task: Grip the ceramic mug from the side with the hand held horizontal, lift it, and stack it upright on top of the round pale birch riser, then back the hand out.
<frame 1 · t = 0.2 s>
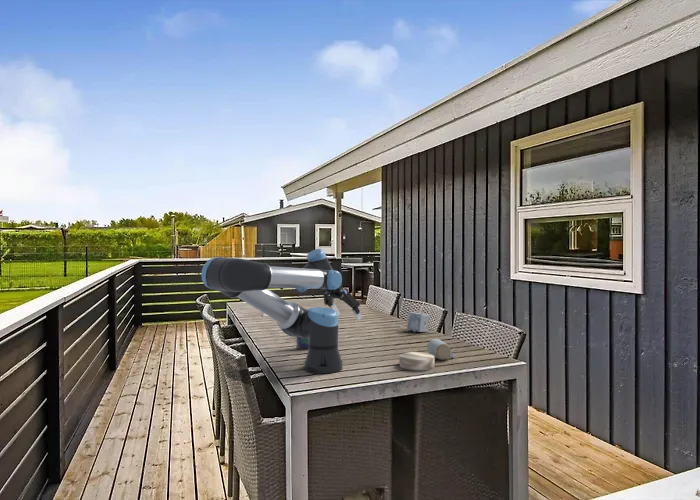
hand: (348, 317, 215), 15 cm above the table, tool tilted 35°, fingers open, 13 cm apart
incense holder: (418, 332, 257), on the table
ceramic mug: (441, 358, 201), on the table
flask: (306, 348, 219), on the table
birch riser: (416, 366, 189), on the table
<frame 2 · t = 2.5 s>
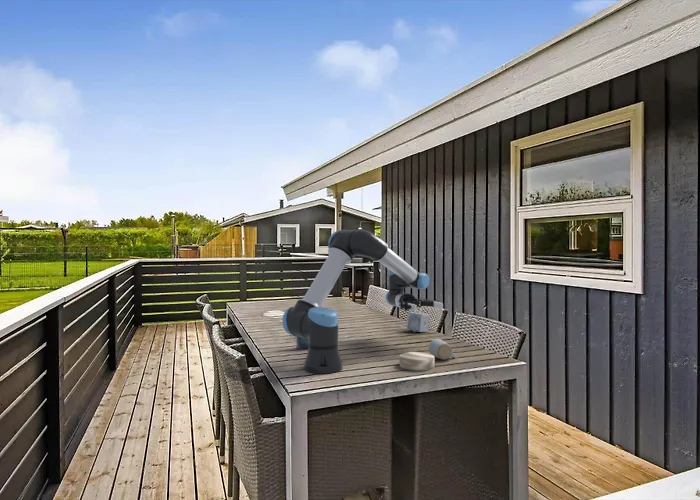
hand: (429, 307, 209), 20 cm above the table, tool horizontal, fingers open, 13 cm apart
nothing on the table moved.
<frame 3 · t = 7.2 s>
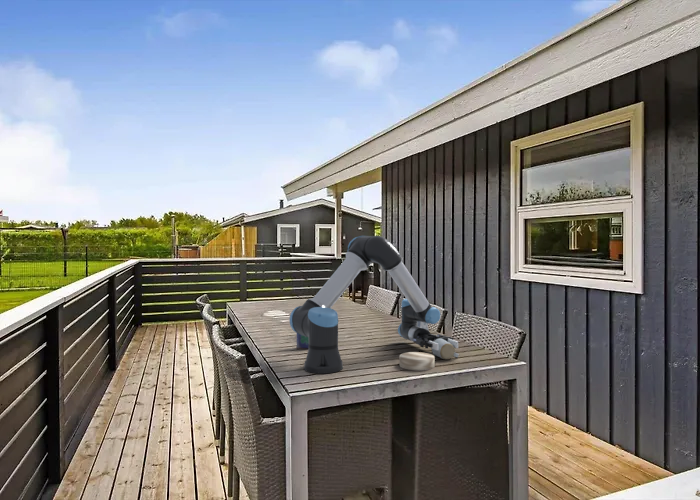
hand: (447, 346, 197), 6 cm above the table, tool horizontal, fingers open, 9 cm apart
ceramic mug: (445, 358, 201), on the table, touching gripper
everything else where it was.
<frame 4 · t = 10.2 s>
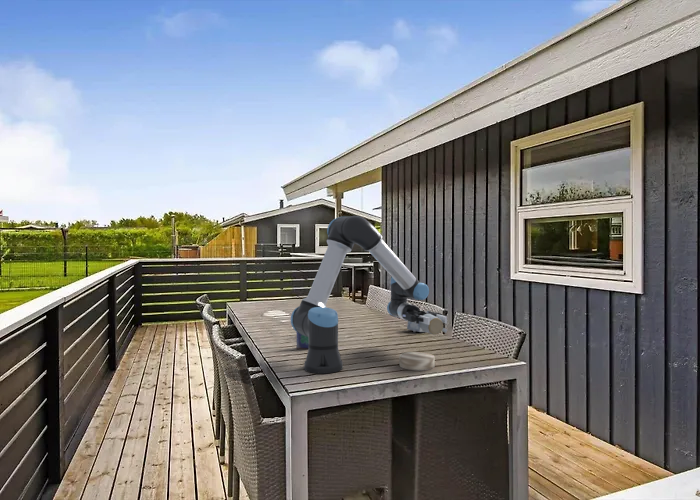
hand: (437, 320, 190), 18 cm above the table, tool horizontal, fingers closed on ceramic mug, 7 cm apart
ceramic mug: (434, 333, 195), point 12 cm above the table, touching gripper
everything else where it was.
when the fingers open (11 cm above the table, at t = 13.2 s): ceramic mug drops 2 cm, resting on birch riser.
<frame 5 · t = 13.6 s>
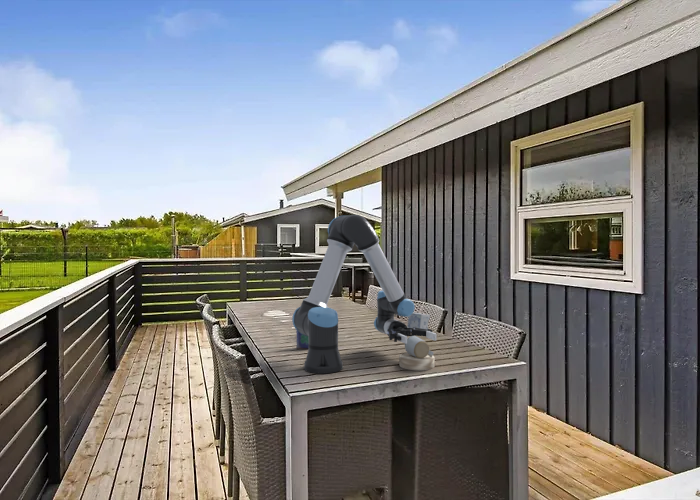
hand: (421, 338, 186), 11 cm above the table, tool horizontal, fingers open, 13 cm apart
ceramic mug: (420, 356, 189), point 3 cm above the table, touching birch riser
birch riser: (416, 366, 189), on the table, touching ceramic mug
everything else where it was.
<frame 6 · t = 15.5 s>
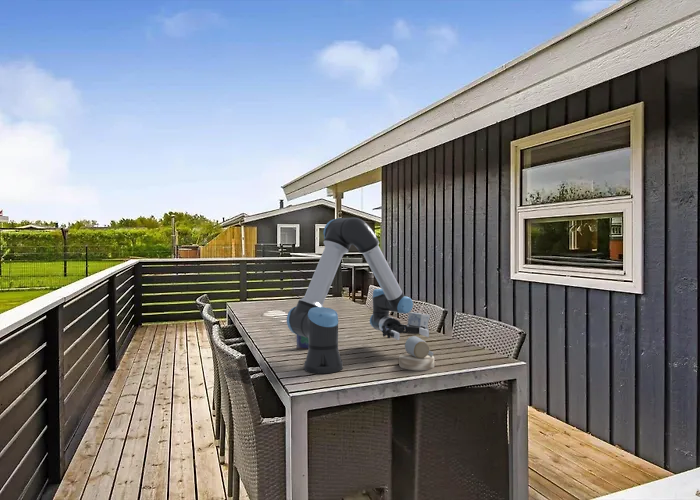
hand: (413, 335, 192), 12 cm above the table, tool horizontal, fingers open, 13 cm apart
nothing on the table moved.
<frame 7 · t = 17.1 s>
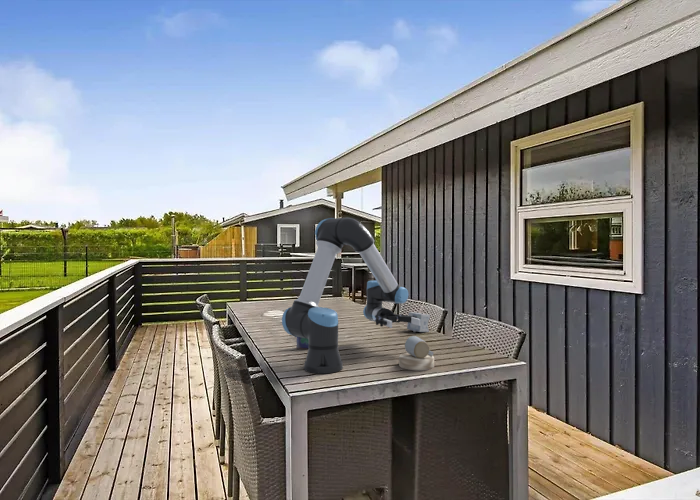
hand: (405, 323, 198), 15 cm above the table, tool horizontal, fingers open, 13 cm apart
nothing on the table moved.
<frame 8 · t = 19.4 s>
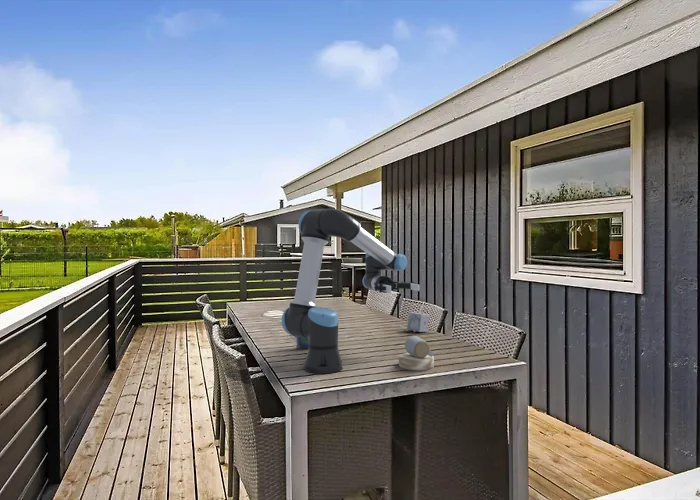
hand: (404, 288, 197), 30 cm above the table, tool horizontal, fingers open, 13 cm apart
nothing on the table moved.
at the end: ceramic mug inside the target area on the birch riser (1.8 cm from its centre), point 3.8 cm above the birch riser's base; ceramic mug tilted 2°; the gripper is holding nothing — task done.
